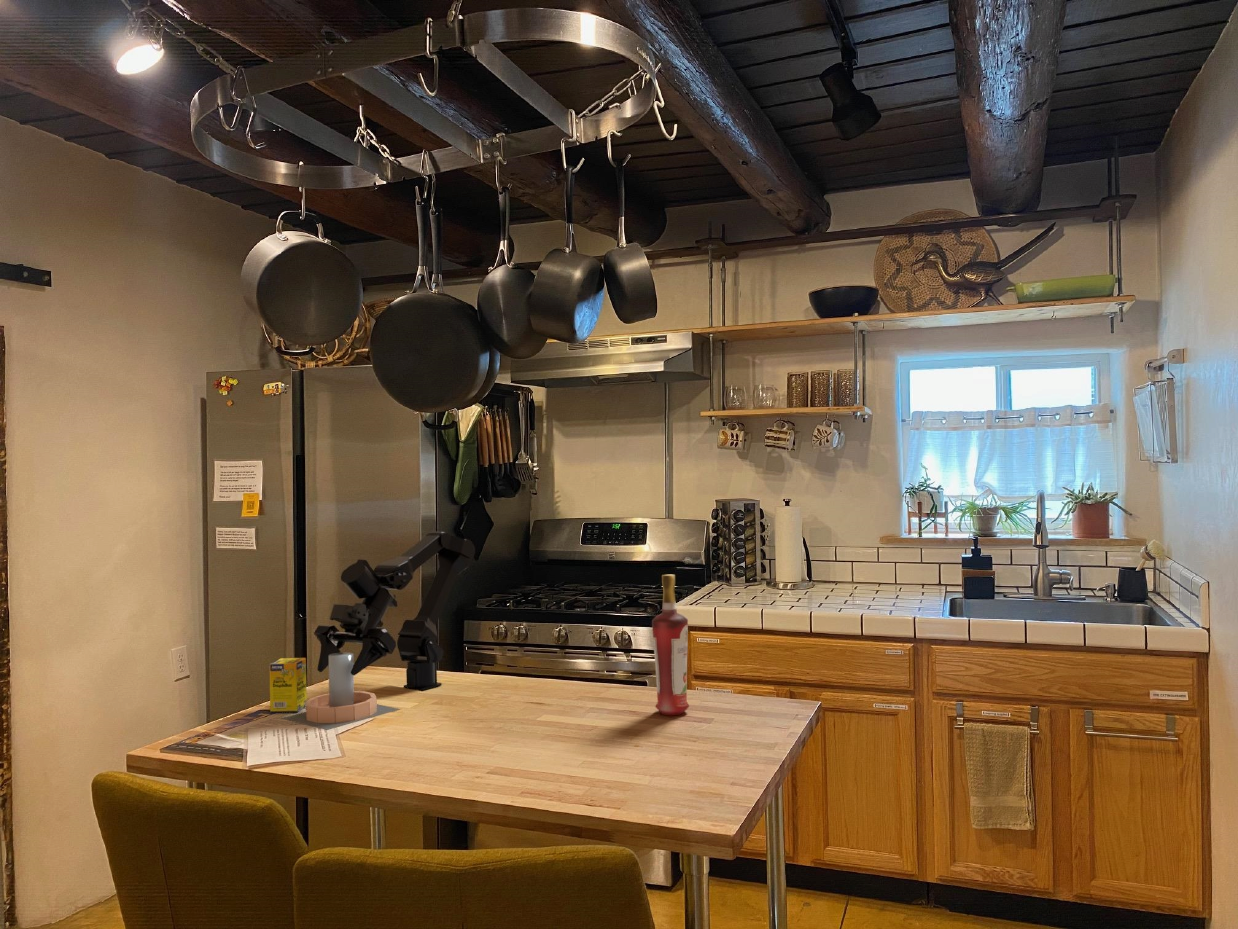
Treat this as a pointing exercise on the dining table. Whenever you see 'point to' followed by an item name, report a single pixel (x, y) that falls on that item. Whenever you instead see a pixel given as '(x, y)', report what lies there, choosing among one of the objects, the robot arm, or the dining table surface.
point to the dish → (340, 708)
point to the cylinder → (341, 679)
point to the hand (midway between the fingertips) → (335, 672)
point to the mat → (302, 719)
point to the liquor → (670, 653)
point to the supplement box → (287, 685)
